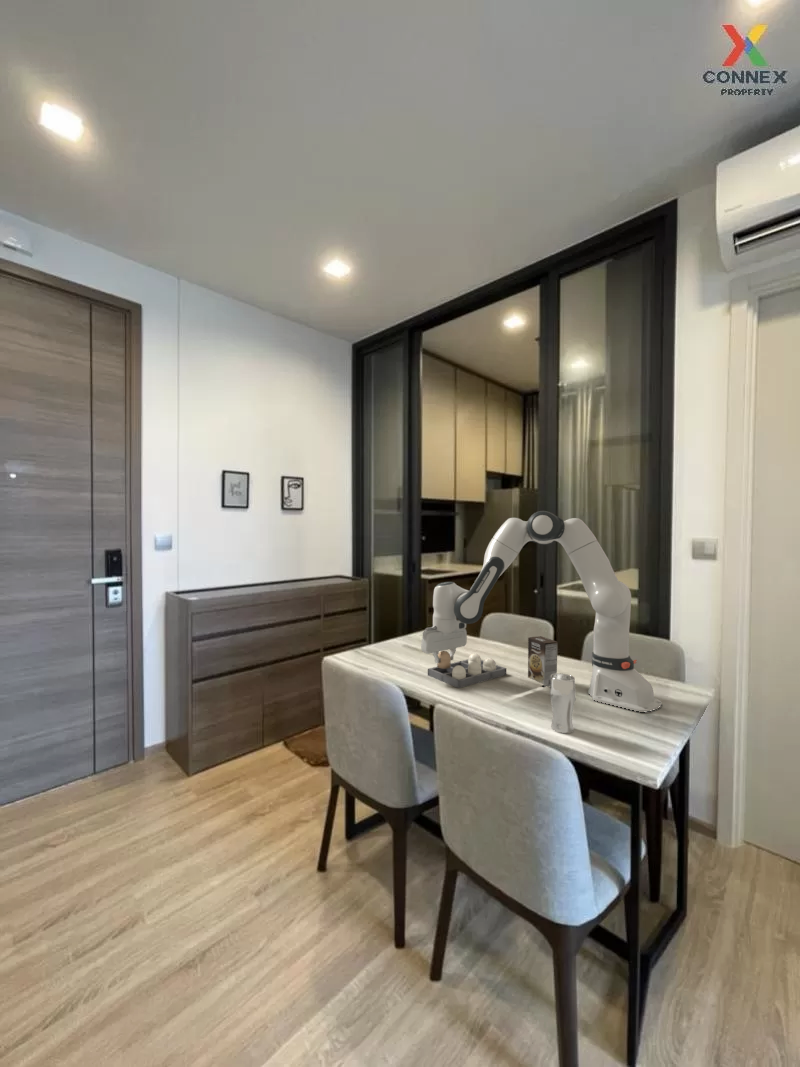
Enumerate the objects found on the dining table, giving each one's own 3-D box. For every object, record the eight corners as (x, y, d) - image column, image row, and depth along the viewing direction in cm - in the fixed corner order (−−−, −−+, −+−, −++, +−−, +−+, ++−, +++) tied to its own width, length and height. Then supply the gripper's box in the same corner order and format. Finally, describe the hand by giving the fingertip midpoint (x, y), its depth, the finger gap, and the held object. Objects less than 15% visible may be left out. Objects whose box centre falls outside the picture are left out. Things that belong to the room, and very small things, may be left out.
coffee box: (527, 679, 174) (527, 637, 174) (540, 677, 177) (540, 635, 176) (544, 687, 166) (544, 642, 165) (557, 684, 168) (558, 640, 168)
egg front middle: (484, 678, 172) (484, 662, 172) (474, 680, 169) (474, 664, 169) (474, 674, 176) (474, 659, 176) (465, 677, 173) (465, 661, 173)
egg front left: (468, 682, 168) (468, 666, 168) (458, 685, 165) (458, 668, 165) (459, 678, 172) (459, 662, 172) (449, 681, 169) (449, 665, 169)
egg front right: (498, 674, 177) (498, 658, 177) (489, 676, 174) (489, 661, 174) (489, 670, 181) (489, 655, 181) (480, 673, 178) (480, 657, 178)
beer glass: (569, 723, 136) (569, 672, 135) (579, 734, 129) (579, 680, 128) (545, 723, 135) (546, 673, 135) (554, 734, 128) (555, 681, 128)
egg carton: (506, 677, 177) (506, 668, 176) (458, 690, 162) (458, 681, 162) (474, 666, 190) (474, 657, 190) (427, 677, 176) (427, 668, 176)
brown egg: (453, 667, 174) (453, 651, 174) (443, 669, 171) (443, 653, 171) (444, 663, 178) (444, 648, 178) (434, 666, 175) (434, 650, 175)
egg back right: (483, 668, 183) (483, 654, 183) (474, 671, 181) (474, 656, 180) (474, 665, 188) (474, 651, 187) (465, 668, 185) (465, 653, 184)
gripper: (428, 630, 166) (428, 668, 166) (469, 623, 178) (469, 658, 178) (417, 626, 171) (417, 663, 171) (458, 620, 183) (458, 654, 183)
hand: (444, 661), depth 175 cm, fingers closed on brown egg, 5 cm apart
